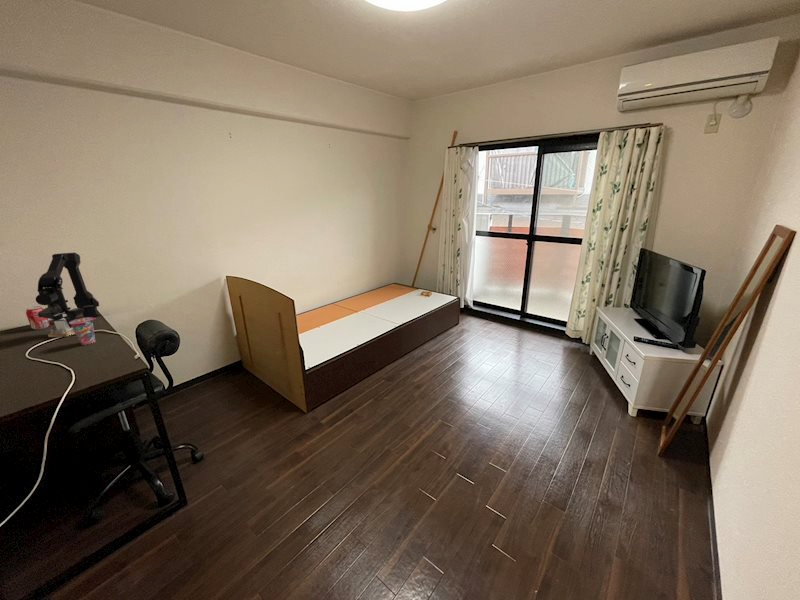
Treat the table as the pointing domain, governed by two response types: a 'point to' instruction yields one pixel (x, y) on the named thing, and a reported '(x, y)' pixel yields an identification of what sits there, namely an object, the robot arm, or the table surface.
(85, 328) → the cup
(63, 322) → the block
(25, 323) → the table surface
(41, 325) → the soda can
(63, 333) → the light brown u-shaped piece
